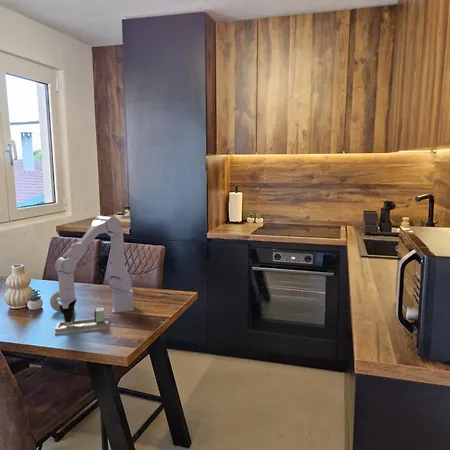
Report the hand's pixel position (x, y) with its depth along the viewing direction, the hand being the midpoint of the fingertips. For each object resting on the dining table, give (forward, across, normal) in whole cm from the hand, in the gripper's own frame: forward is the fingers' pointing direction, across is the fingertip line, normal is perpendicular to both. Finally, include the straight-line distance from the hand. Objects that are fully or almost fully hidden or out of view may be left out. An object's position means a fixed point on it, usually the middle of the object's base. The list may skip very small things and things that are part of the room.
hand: (69, 319), depth 162 cm
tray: (+4, 0, +5) cm, 6 cm away
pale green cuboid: (+2, 0, 0) cm, 2 cm away
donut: (+4, -22, -6) cm, 23 cm away
